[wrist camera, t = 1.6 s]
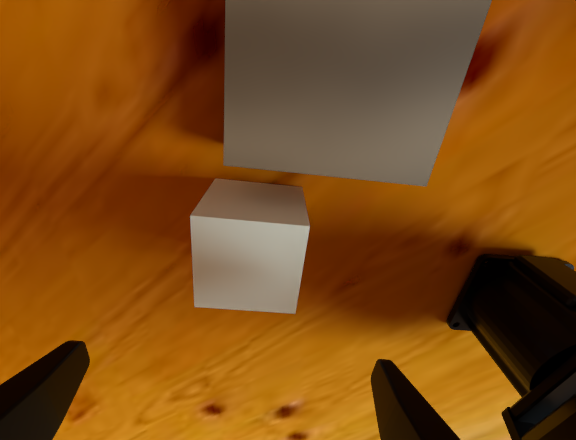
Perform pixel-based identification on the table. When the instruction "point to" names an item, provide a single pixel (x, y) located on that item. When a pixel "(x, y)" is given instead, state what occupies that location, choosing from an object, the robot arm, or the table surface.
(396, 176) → the grey block
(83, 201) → the table surface
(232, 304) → the cream cube
